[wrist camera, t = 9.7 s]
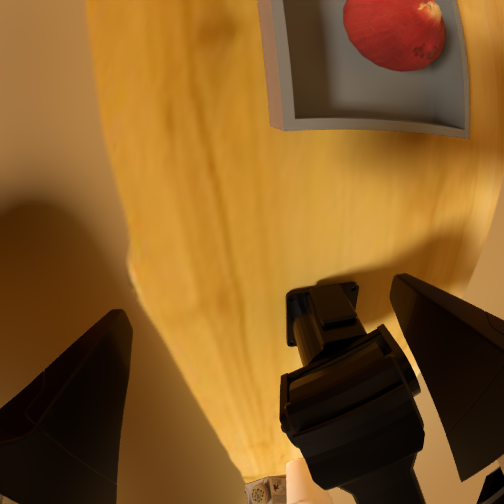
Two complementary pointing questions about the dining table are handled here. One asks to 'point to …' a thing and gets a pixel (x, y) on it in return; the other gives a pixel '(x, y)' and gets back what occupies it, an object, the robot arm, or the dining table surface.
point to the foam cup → (303, 485)
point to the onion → (396, 32)
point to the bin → (357, 75)
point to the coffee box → (267, 491)
